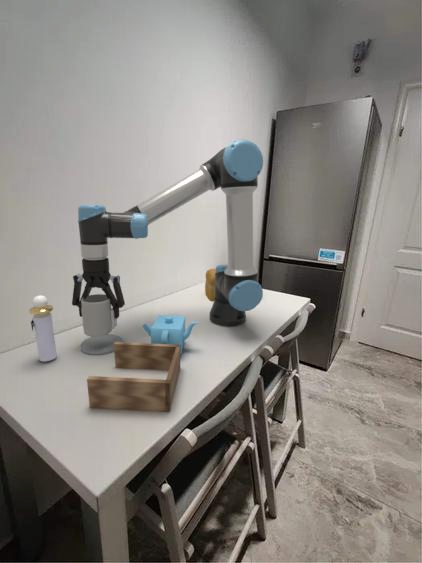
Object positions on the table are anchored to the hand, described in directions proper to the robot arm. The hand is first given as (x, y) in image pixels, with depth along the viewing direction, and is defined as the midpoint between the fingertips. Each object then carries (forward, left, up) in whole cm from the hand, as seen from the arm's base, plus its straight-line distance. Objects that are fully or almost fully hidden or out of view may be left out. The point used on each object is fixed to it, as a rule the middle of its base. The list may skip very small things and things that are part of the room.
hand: (100, 326), depth 90 cm
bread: (-44, -56, -7) cm, 72 cm away
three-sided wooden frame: (-18, +20, -7) cm, 28 cm away
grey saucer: (0, 0, -7) cm, 7 cm away
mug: (-1, 0, -1) cm, 1 cm away
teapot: (-23, +1, -7) cm, 24 cm away
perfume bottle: (+12, +10, -7) cm, 17 cm away
